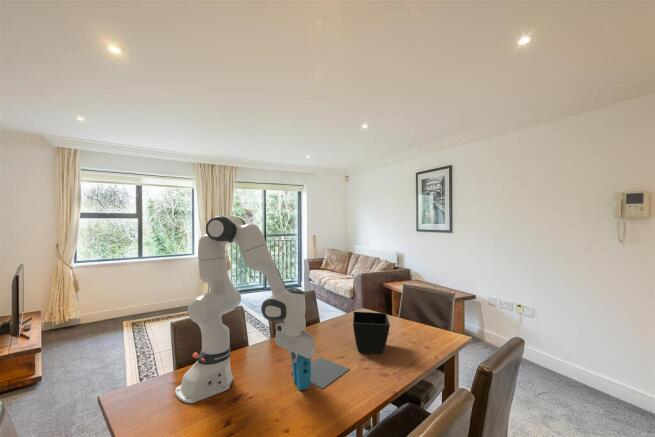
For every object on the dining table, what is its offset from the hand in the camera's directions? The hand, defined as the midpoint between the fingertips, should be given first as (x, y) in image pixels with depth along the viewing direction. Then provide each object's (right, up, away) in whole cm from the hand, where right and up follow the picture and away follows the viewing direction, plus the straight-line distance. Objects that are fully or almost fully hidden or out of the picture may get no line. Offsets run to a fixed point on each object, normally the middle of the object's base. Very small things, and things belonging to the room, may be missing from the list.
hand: (294, 362), depth 118 cm
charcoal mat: (+11, -11, +14) cm, 21 cm away
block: (+3, -11, +4) cm, 12 cm away
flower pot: (+37, -12, +39) cm, 55 cm away
